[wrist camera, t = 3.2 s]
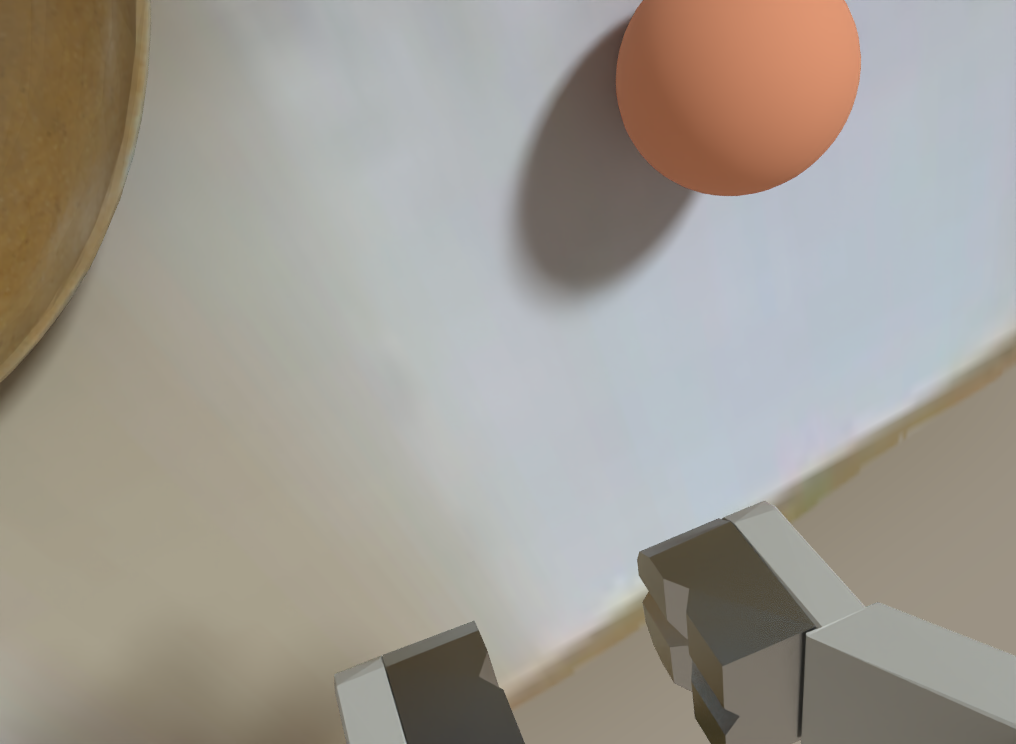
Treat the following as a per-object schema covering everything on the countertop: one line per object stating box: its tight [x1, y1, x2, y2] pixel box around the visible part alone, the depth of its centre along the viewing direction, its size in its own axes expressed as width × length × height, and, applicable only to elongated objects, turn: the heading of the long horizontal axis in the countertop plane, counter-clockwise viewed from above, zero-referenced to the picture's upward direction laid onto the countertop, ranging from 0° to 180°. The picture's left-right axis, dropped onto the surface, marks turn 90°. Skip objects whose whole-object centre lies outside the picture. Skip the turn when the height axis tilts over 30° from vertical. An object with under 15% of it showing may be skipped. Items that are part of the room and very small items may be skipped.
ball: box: [616, 0, 861, 196], centre depth 21 cm, size 6×6×6 cm
